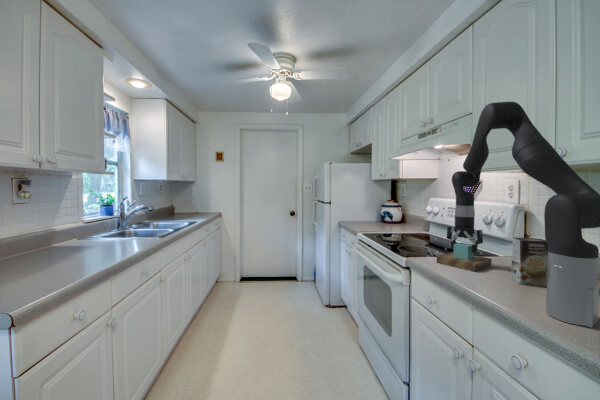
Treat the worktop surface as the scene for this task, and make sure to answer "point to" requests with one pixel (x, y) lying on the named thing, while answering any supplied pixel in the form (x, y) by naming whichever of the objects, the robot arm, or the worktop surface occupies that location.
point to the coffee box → (529, 261)
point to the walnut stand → (464, 262)
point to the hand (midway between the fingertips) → (463, 250)
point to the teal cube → (463, 251)
